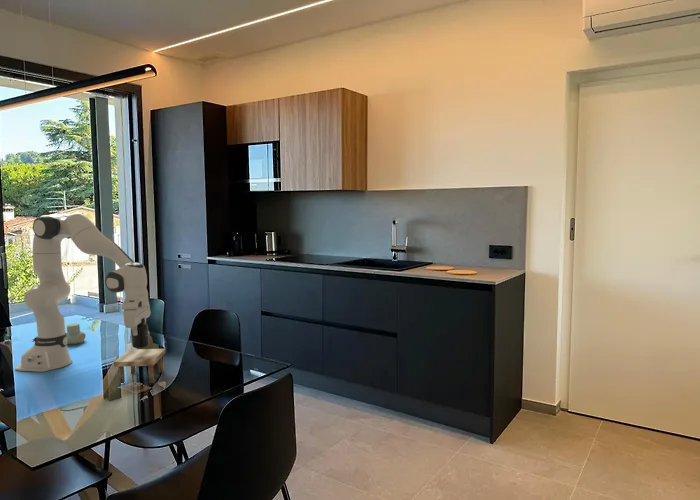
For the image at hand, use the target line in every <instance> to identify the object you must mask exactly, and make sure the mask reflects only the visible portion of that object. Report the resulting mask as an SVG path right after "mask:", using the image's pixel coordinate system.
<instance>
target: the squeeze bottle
mask: <svg viewBox="0 0 700 500" xmlns="http://www.w3.org/2000/svg"><path fill="white" fill-rule="evenodd" d="M148 333H149V345H148V346H146V347H142V348H136V349H155V346H154V342H153V341H154V340H153V337H152V336H151V334H150V331H148Z"/></svg>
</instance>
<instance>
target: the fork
mask: <svg viewBox="0 0 700 500" xmlns="http://www.w3.org/2000/svg"><path fill="white" fill-rule="evenodd" d="M154 384H158V385H159V386H160V387H162V388H163V389H164V390H165V387H166V385H167V382H166V381H159V382H155V383H154Z"/></svg>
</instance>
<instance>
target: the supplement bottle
mask: <svg viewBox="0 0 700 500" xmlns="http://www.w3.org/2000/svg"><path fill="white" fill-rule="evenodd" d="M137 331H138V335H137V336H134V335H133V332H132V329H131V328H130V335H131V336H130V337H131V346H132V347H133V349H137V348H142V347H146V346H148V345H149V333H148V332H149V326H148V324H147V322H146V323H145V318H143V319H141V323H140V324H138V325H137Z"/></svg>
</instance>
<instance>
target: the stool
mask: <svg viewBox="0 0 700 500" xmlns="http://www.w3.org/2000/svg"><path fill="white" fill-rule="evenodd" d="M166 354H167V351H166V348H154V349H137V348H133V349H130V348H129V349H128V350H126V351H125V352H124V353H123V354H121V356H119V357H118V358H117V359H116V360H114V362H113V366H114V368H115V367H117V368H118V378H119V384H120V383H124V382H125V383H126V376H125V367H129V368H130V374H136V373H135V372H137V370H136V369H137V368H136V367H147V373H148V377H147V378H148V384H155V383H154V382H155V378H154V377H155V376H154V375H155V374H154V366H155V364H157V373H159V374H160V373H162V374H163V373H164V366H163V365H164V364H163V363H164V362H163V360H164V359H163V357H164V355H166ZM125 383H124V384H125Z"/></svg>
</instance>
